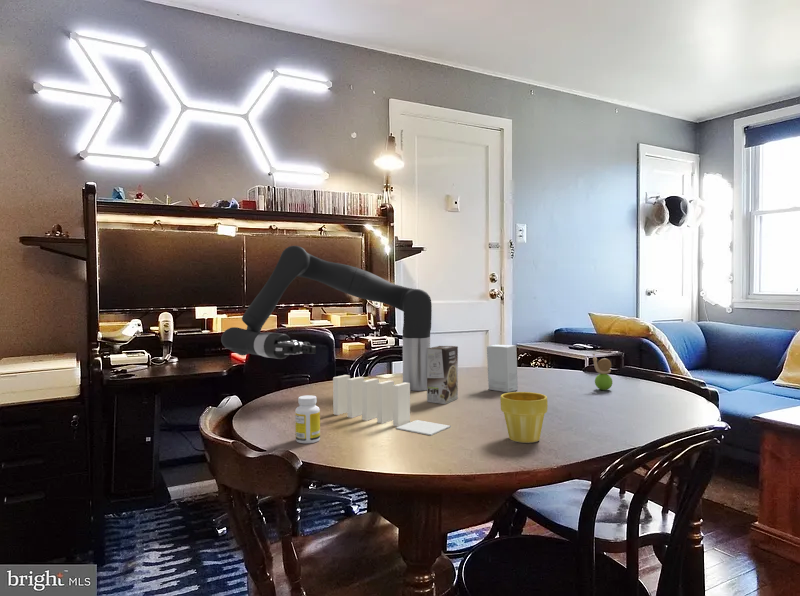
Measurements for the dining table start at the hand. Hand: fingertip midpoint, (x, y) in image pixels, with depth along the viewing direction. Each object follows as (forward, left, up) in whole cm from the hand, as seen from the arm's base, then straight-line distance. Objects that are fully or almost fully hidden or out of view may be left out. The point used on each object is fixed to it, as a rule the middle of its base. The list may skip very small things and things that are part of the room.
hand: (313, 349), depth 152 cm
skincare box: (-61, +17, -17) cm, 65 cm away
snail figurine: (-86, +38, -17) cm, 95 cm away
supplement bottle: (+17, +27, -17) cm, 36 cm away
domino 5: (-8, +29, -16) cm, 34 cm away
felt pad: (-10, +35, -16) cm, 40 cm away
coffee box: (-35, +16, -17) cm, 42 cm away
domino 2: (-4, +15, -16) cm, 22 cm away
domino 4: (-7, +24, -16) cm, 30 cm away
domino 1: (-3, +10, -16) cm, 19 cm away
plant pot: (-21, +57, -17) cm, 63 cm away
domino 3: (-5, +20, -16) cm, 26 cm away
